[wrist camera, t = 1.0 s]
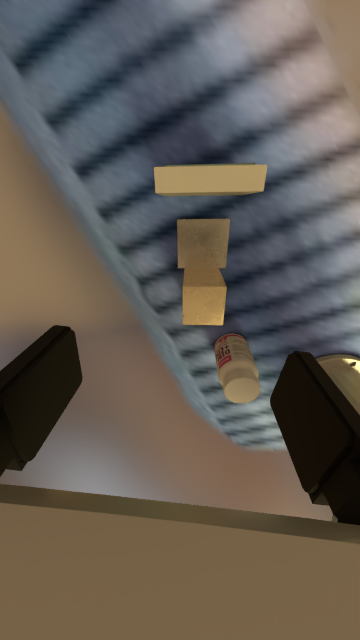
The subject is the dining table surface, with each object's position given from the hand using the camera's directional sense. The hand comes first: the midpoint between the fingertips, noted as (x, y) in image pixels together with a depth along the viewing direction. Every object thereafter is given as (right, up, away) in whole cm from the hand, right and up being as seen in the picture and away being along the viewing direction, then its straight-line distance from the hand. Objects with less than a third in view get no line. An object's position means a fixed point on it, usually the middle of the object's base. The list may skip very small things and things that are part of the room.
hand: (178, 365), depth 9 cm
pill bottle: (+7, -2, +21) cm, 23 cm away
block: (+3, +16, +12) cm, 20 cm away
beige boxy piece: (+3, +9, +16) cm, 18 cm away
